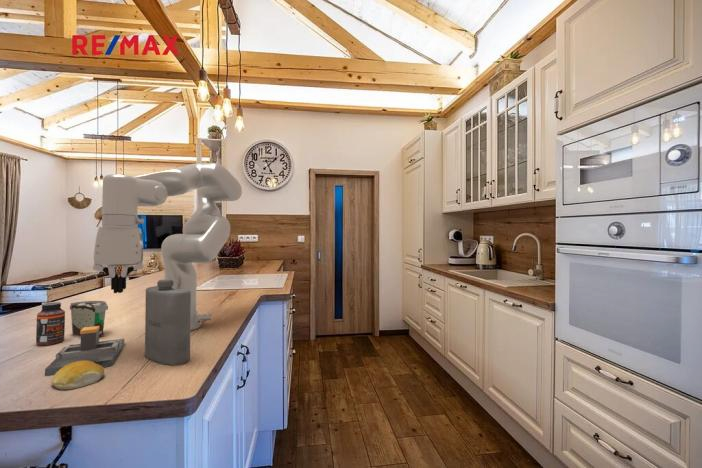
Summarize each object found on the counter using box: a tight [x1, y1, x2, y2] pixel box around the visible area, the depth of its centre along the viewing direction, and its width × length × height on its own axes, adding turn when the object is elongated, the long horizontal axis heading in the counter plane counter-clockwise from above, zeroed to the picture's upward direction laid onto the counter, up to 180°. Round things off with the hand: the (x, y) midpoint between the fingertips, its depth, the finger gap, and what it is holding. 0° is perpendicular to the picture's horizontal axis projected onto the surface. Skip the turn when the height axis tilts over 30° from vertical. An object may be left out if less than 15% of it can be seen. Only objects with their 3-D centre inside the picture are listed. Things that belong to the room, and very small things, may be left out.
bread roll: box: [51, 360, 105, 391], centre depth 68 cm, size 8×9×4 cm
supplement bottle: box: [35, 301, 66, 346], centre depth 91 cm, size 6×6×11 cm
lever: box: [80, 326, 100, 350], centre depth 80 cm, size 3×3×6 cm
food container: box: [69, 300, 109, 338], centre depth 99 cm, size 12×6×10 cm, turn 71°
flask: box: [144, 278, 191, 366], centre depth 81 cm, size 15×6×20 cm, turn 60°
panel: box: [44, 338, 125, 377], centre depth 80 cm, size 12×17×3 cm
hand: (118, 292), depth 83 cm, fingers closed
